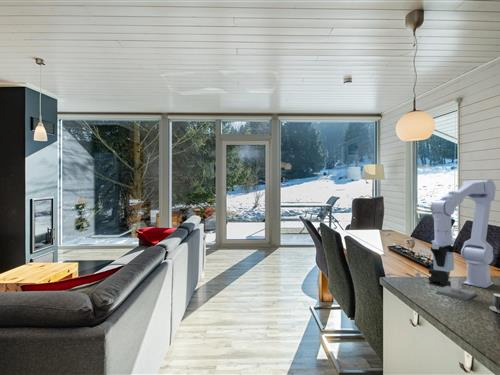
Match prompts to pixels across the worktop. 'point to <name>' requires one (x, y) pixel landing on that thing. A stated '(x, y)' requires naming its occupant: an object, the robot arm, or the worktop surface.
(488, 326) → the worktop surface
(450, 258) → the pale blue cube
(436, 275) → the end cap
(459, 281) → the post
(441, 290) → the board
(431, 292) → the worktop surface
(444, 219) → the robot arm
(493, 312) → the worktop surface
